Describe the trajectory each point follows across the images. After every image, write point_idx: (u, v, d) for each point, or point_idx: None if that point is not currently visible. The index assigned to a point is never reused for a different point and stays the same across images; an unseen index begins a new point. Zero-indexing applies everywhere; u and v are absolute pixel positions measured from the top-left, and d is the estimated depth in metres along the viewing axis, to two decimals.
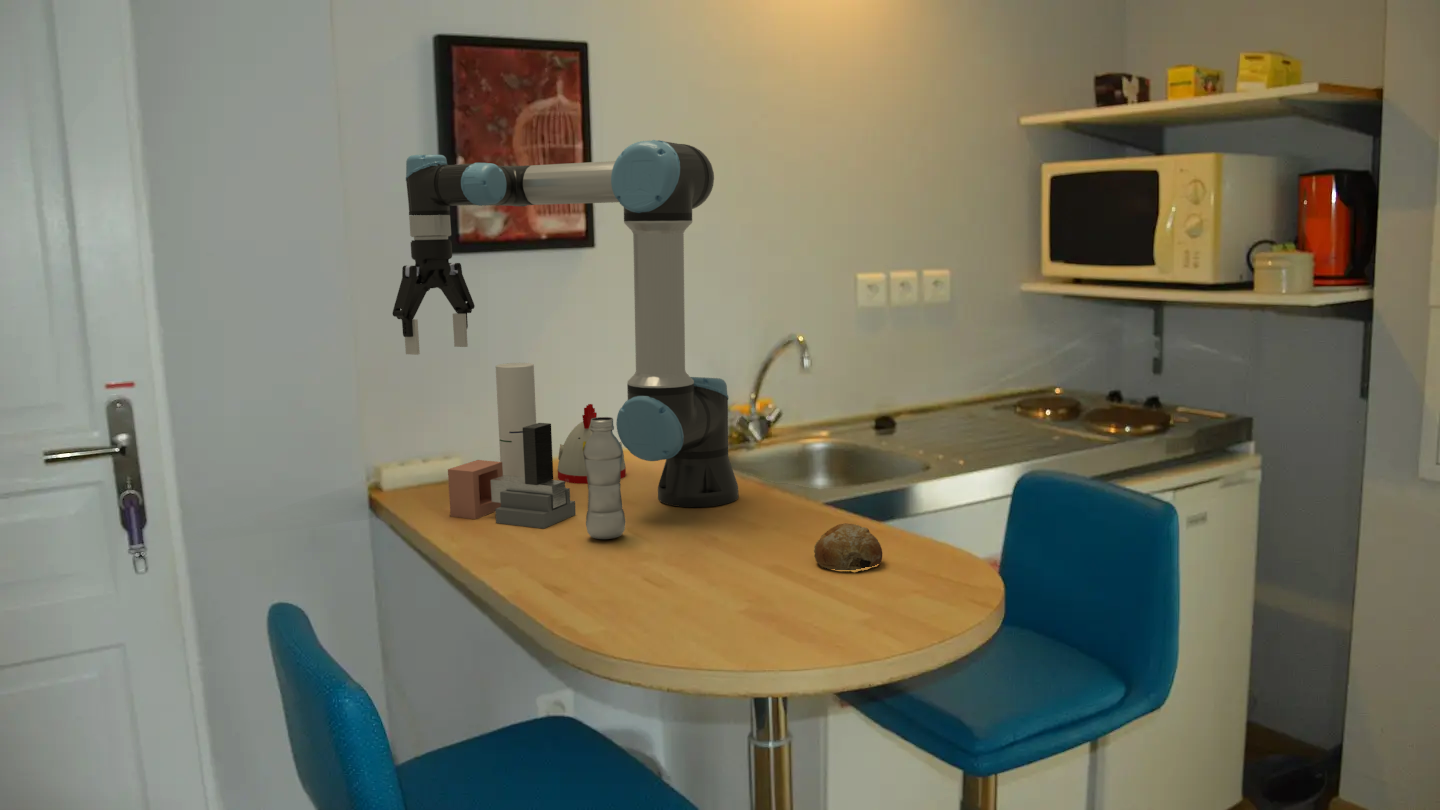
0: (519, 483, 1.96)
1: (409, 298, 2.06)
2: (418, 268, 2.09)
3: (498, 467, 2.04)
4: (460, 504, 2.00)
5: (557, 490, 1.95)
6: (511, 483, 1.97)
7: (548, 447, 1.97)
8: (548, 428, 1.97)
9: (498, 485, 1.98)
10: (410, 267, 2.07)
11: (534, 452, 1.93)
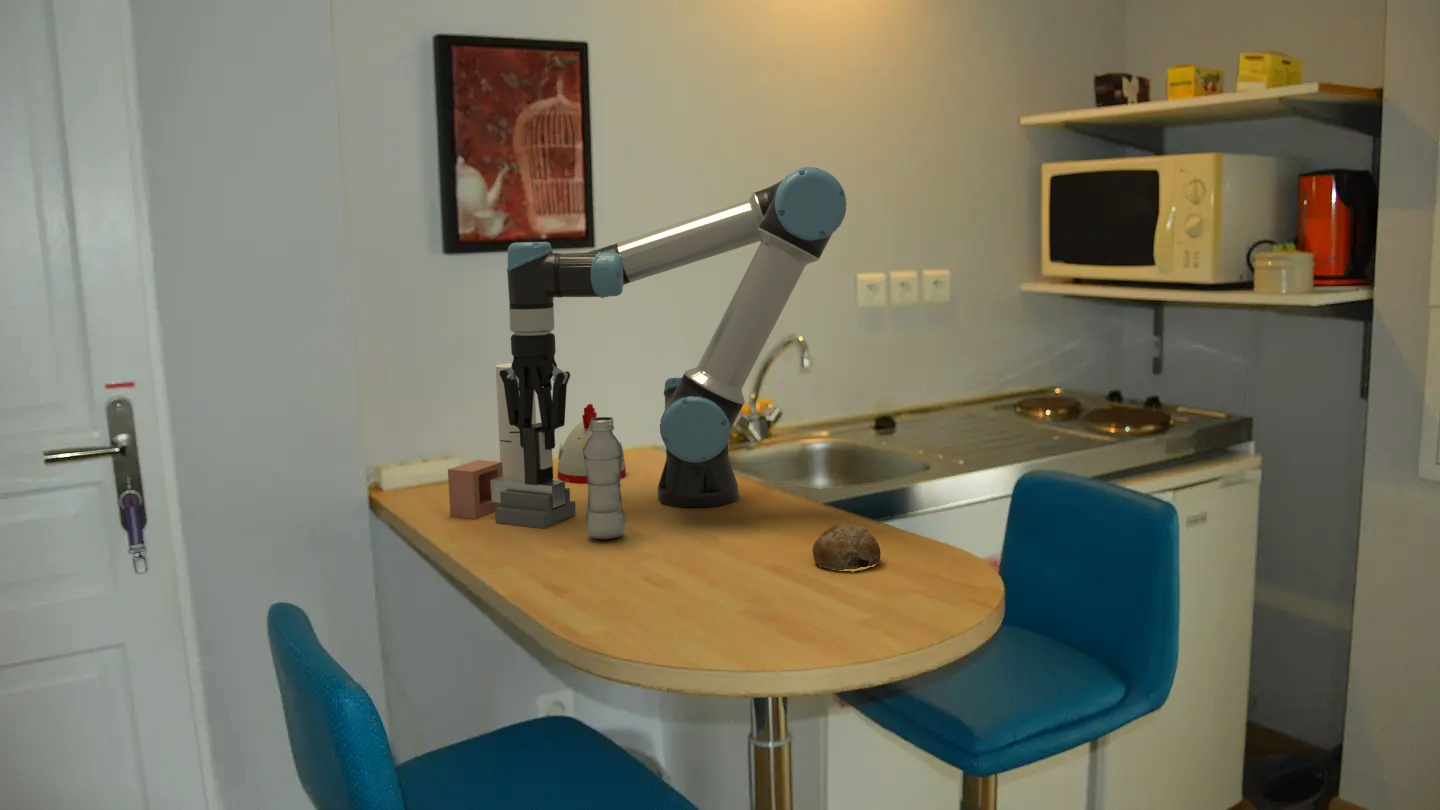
0: (519, 483, 1.96)
1: (510, 405, 1.96)
2: (511, 367, 1.95)
3: (498, 467, 2.04)
4: (460, 504, 2.00)
5: (557, 490, 1.95)
6: (511, 483, 1.97)
7: None
8: None
9: (498, 485, 1.98)
10: None
11: (534, 452, 1.93)
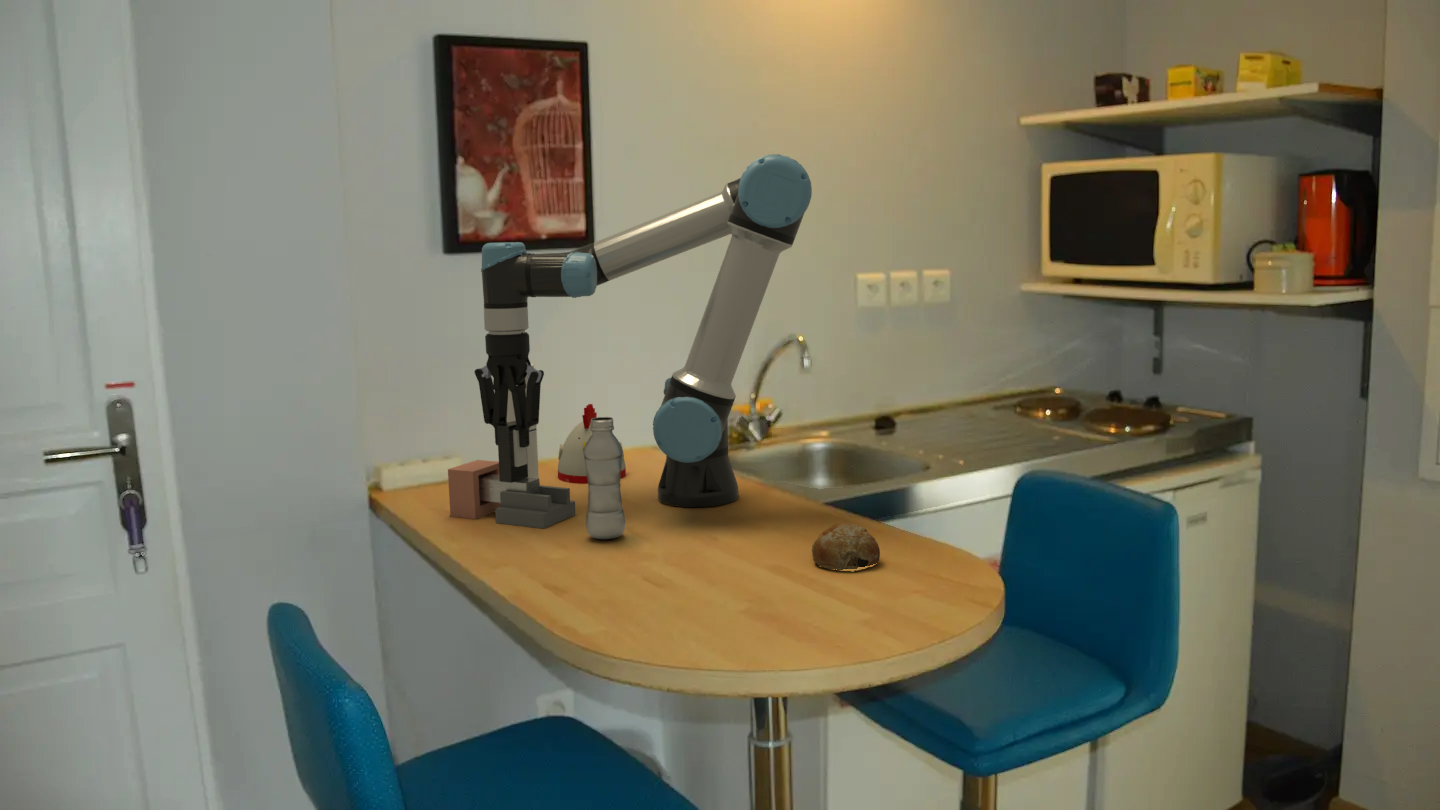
0: (494, 480, 1.99)
1: (485, 403, 1.98)
2: (486, 366, 1.97)
3: (498, 467, 2.04)
4: (460, 504, 2.00)
5: (531, 487, 1.97)
6: (486, 480, 1.99)
7: None
8: None
9: None
10: None
11: (508, 450, 1.96)
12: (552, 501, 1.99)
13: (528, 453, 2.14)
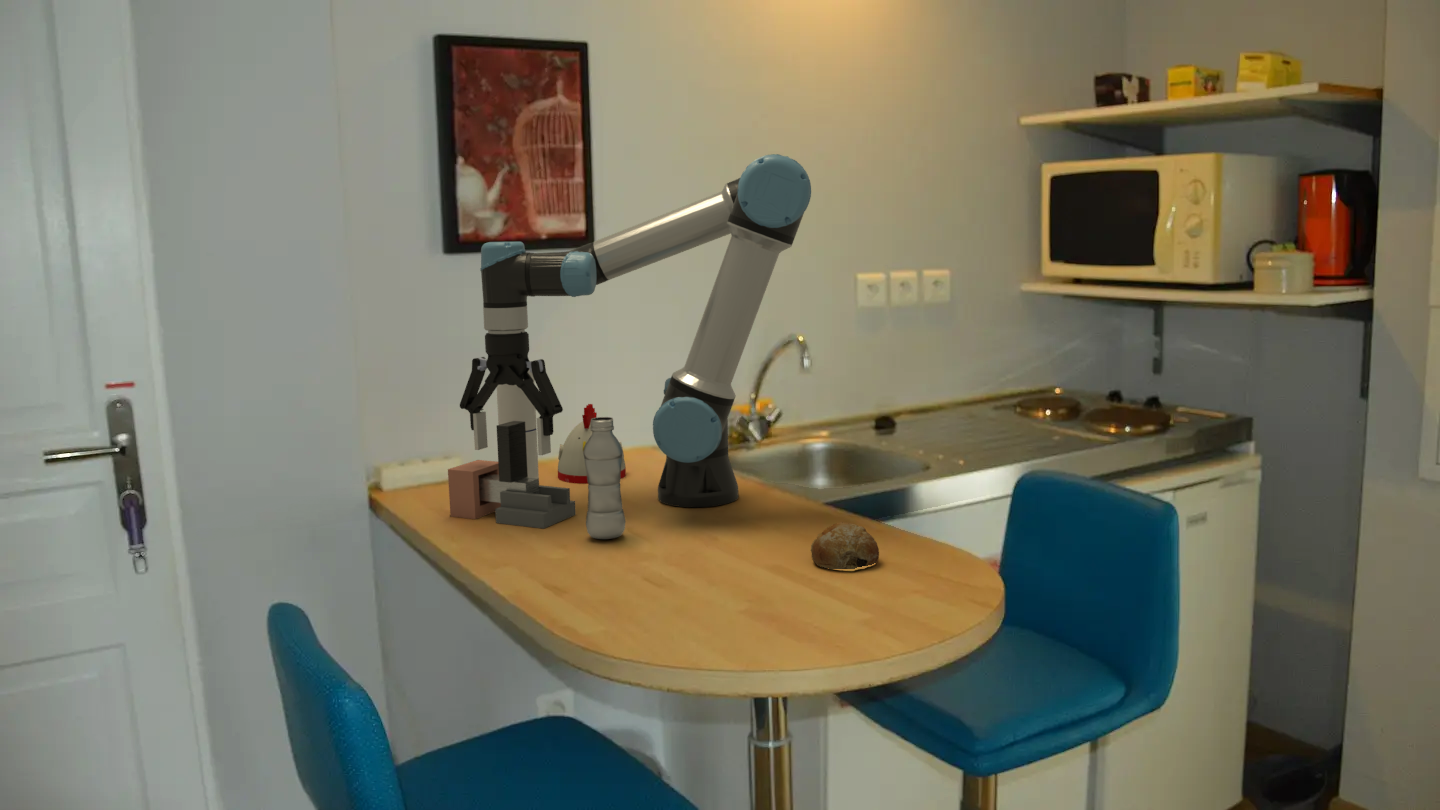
0: (493, 480, 1.99)
1: (468, 391, 1.99)
2: (485, 361, 1.97)
3: (498, 467, 2.04)
4: (460, 504, 2.00)
5: (531, 487, 1.97)
6: (486, 480, 1.99)
7: (522, 445, 1.99)
8: (522, 426, 1.99)
9: None
10: None
11: (508, 450, 1.96)
12: (552, 501, 1.99)
13: (528, 453, 2.14)
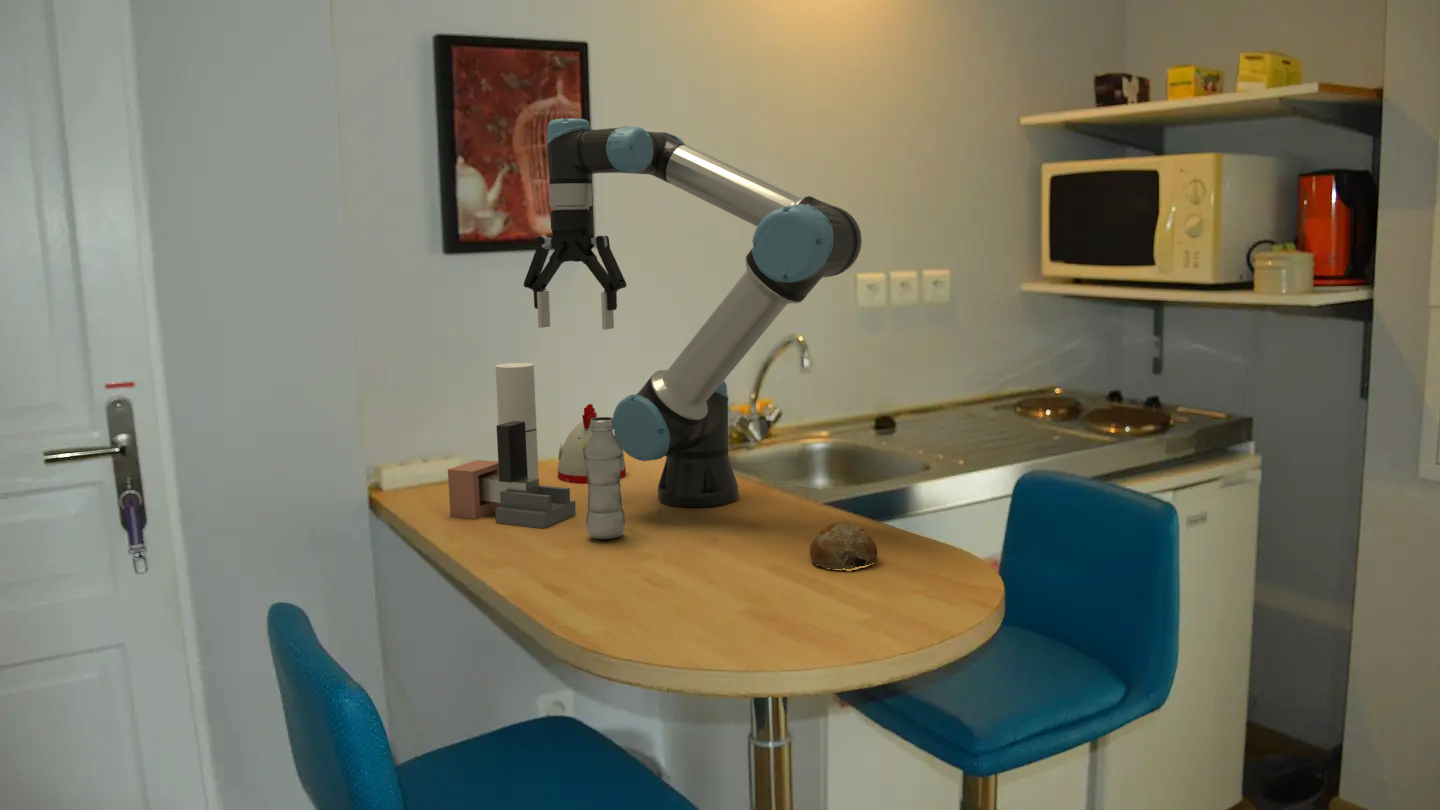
0: (493, 480, 1.99)
1: (532, 269, 2.04)
2: (550, 239, 2.02)
3: (498, 467, 2.04)
4: (460, 504, 2.00)
5: (531, 487, 1.97)
6: (486, 480, 1.99)
7: (522, 445, 1.99)
8: (522, 426, 1.99)
9: None
10: None
11: (508, 450, 1.96)
12: (552, 501, 1.99)
13: (528, 453, 2.14)
